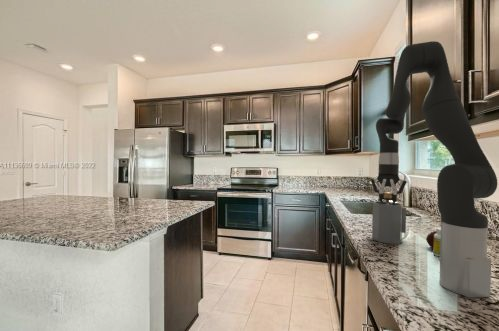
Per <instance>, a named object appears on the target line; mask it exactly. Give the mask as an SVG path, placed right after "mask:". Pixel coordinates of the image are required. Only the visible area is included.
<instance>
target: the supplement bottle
mask: <svg viewBox="0 0 499 331" xmlns="http://www.w3.org/2000/svg"><path fill="white" fill-rule="evenodd" d="M435 231H436V232H437V233H436V234H434V247H433V248H432V250H433V252H432V253H433V254H434V255H435V256H436V257H439V258H440V244H441V227H436V230H435Z"/></svg>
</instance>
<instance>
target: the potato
mask: <svg viewBox="0 0 499 331" xmlns="http://www.w3.org/2000/svg"><path fill="white" fill-rule="evenodd" d="M436 233H437V232H436V230H433V231H431V232H430V233H428V234H427V236H426V242H427V244H428V246H429V247H430V248H432V249H433V247H434V234H436Z"/></svg>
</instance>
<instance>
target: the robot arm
mask: <svg viewBox="0 0 499 331" xmlns="http://www.w3.org/2000/svg"><path fill="white" fill-rule="evenodd" d="M423 73H426V74H428V77H429V80H430V86H429V89H428V91H427V93H426V95H425V97H424V99H423V103H422V107H421V112H422V115H423V118H424V120H425V124H426V126H427V129H428V130H429V132H430V133H431V135H433V136H434V137H435V139H437V141H439V142H440V143H441V144H442V145H443V147H445V148H446V149H447V151H448V153H450V155H451V157H452V159H453V161H454V162H453V163H450V164H447V165H445V166H443V167H442V168H441V170H440V171H439V172H438V175H437V182H436V190H437V208H438V212H439V214H440V218H441V219H440V228H441V244H440V257H439V285H441V286H442V287H443V288H445V289H447V290H449V291H450V292H453V293H456V294H459V295H462V296H464V297H466V298H469V299H471V298H491V286H492V284H491V283H492V282H491V281H492V259H491V258H489V257H488V227H489V219H488V217H487V215H485V214H484V213H481V212H479V211H478V210H477V209H476V206H475V200H476V199H487V198H490V197H491V196H493V194H495V192H496V190H497V189H498V177H497V175H496V172H495V171H494V168H493V167H492V164H491V163H490V161H489V160H488V158H487V156H486V155H485V153H484V150H483V149H482V147H481V146H480V144H479V141H478V140H477V137H476V135H475V132H474V130H473V127H472V126H471V123H470V121H469V118H468V116H467V112H466V109H465V108H464V104H463V103H462V100H461V98H460V96H459V93H458V91H457V89H456V86H455V83H454V81H453V78H452V74H451V71H450V67H449V62H448V58H447V56H446V51H445V49H444V46H443V44H442V43H441V42H440V41H435V40H433V41H423V42H418V43H414V44H412V43H411V44H409V45H406V46H405V47H404V48H403V50H402V52H401V53H400V56H399V58H398V63H397V68H396V73H395V78H394V84H393V88H392V93H391V97H390V99H389V102H388V105H387V107H386V110H385V116H386V117H380V118H379V119H378V120H377V121H376V123H375V131H376V133H377V135H378V136H377V137H378V142H379V155H378V173H377V174H378V176H377V177H375V178H371V179H370V182H371V186H372V187H373V192H375V193H377V194H378V201H381V202H382V201H384V200H383V192H384V188H385V187H389V188H391V190H392V193H393V200H392V201H393V203H394V204H395V202H397V199H398V195H401V194H403V191H404V188H405V187H406V184H407V180H405V179H401V178H400V176H399V167H400V166H399V165H400V164H399V163H400V156H399V141H398V139H395V138H394V139H393V138H390V137H388V135H397V134H401V132H402V131H403V130H404V127H405V116H406V113H407V111H408V110H409V107H410V105H411V102H412V96H411V95H412V94H411V91H410V89H409V87H408V80H409V77H410V75H415V74H423ZM377 181H378V182H379V184H380V188H379V189H378V187H377V183H378V182H377ZM398 183H399V185H400V187H399V189H398V190H397V189H396V185H397V184H398Z"/></svg>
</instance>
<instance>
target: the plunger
mask: <svg viewBox="0 0 499 331" xmlns="http://www.w3.org/2000/svg"><path fill="white" fill-rule="evenodd" d="M382 194H383V200H382V201H384V200H386V205H389V200H391V201H393V192H389V191H388V192H386V191H382Z"/></svg>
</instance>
